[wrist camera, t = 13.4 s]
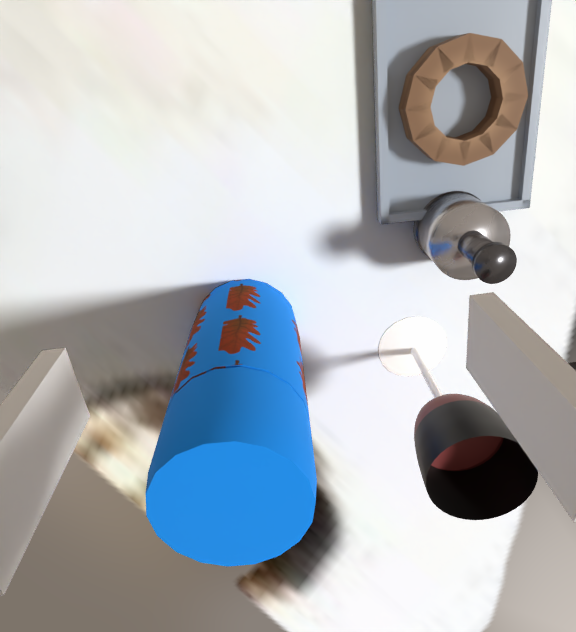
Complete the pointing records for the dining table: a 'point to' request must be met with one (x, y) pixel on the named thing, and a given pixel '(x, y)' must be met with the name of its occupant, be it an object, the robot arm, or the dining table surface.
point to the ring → (502, 109)
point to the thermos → (236, 434)
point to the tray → (453, 102)
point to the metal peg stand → (466, 238)
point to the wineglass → (458, 434)
